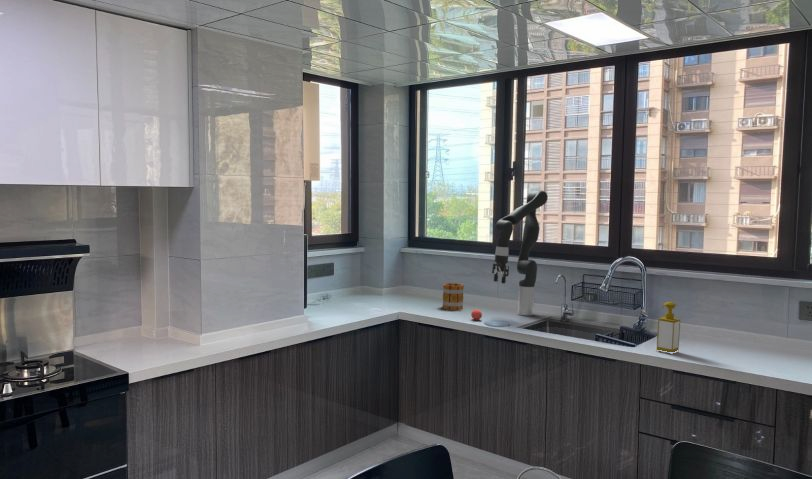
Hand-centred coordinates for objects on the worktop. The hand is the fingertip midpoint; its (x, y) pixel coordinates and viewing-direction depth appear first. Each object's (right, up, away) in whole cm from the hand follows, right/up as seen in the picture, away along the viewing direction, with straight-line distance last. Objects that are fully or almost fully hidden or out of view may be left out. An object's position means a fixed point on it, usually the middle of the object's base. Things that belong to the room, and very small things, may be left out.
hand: (499, 282), depth 353 cm
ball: (-14, -18, -9) cm, 24 cm away
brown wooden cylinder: (-24, -18, +29) cm, 42 cm away
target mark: (-4, -22, -18) cm, 29 cm away
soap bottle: (+66, -28, -72) cm, 101 cm away
